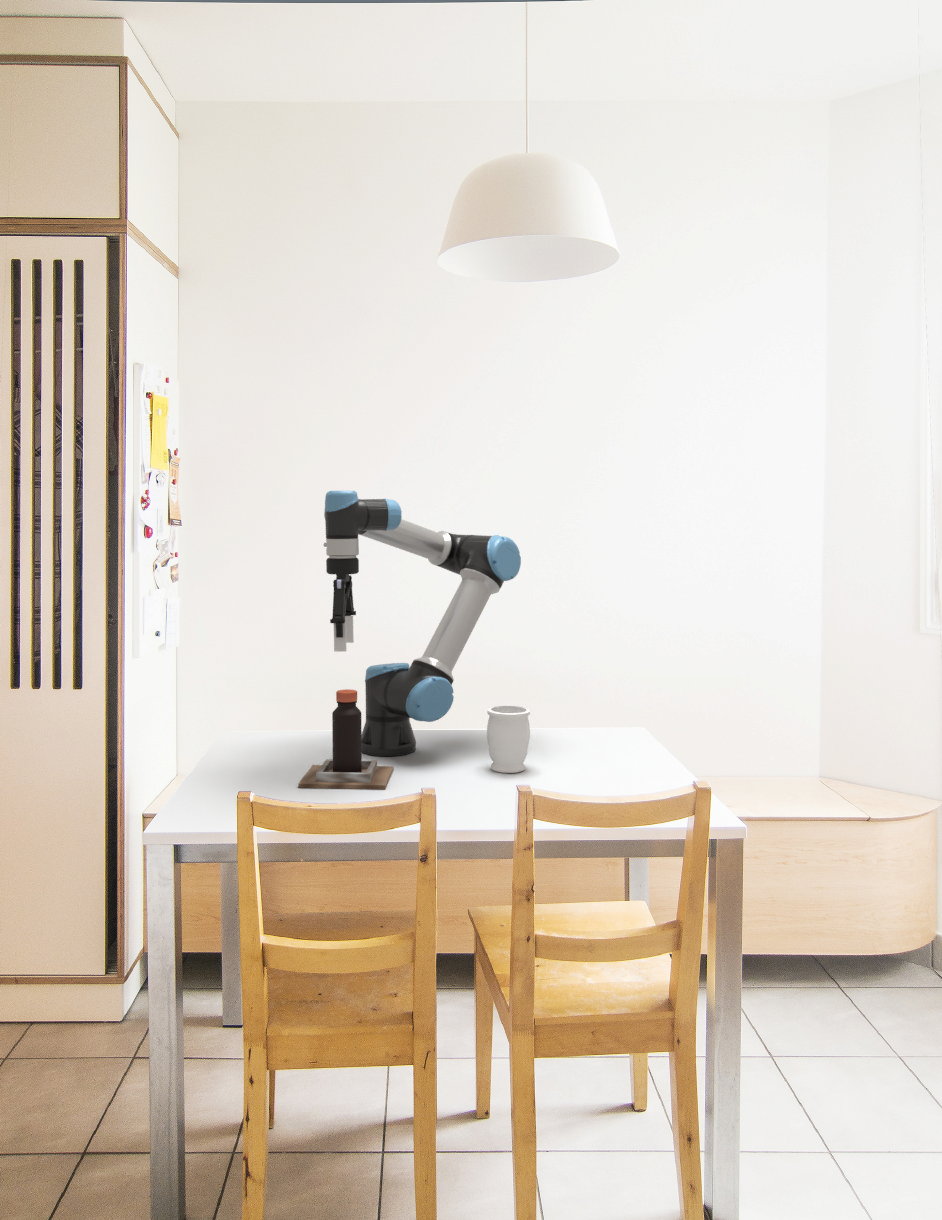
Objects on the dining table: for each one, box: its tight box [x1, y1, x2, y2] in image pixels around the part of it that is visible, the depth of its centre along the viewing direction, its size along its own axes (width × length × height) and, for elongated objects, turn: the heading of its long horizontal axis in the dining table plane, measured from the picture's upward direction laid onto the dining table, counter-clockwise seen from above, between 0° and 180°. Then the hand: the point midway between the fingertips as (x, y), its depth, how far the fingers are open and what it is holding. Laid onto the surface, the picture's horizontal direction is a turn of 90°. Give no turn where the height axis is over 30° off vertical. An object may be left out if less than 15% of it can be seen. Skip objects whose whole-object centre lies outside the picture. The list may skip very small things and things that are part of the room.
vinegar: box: [331, 688, 363, 773], centre depth 218 cm, size 7×7×20 cm
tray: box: [297, 758, 395, 791], centre depth 218 cm, size 20×16×3 cm
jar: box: [486, 705, 531, 774], centre depth 227 cm, size 11×10×15 cm
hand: (344, 646), depth 218 cm, fingers open, 13 cm apart
